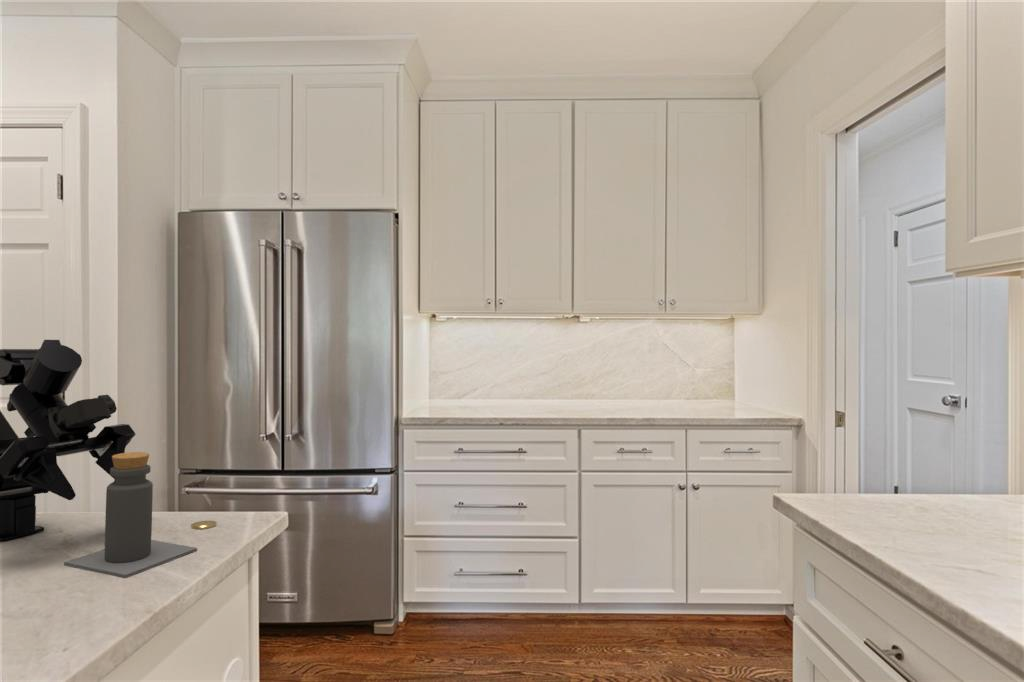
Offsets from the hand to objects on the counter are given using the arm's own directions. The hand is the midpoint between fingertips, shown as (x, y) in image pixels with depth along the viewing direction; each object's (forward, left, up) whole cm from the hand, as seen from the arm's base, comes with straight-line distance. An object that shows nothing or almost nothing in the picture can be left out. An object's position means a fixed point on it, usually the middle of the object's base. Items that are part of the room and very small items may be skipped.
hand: (101, 490), depth 94 cm
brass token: (+3, +16, -9) cm, 19 cm away
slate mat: (+6, 0, -9) cm, 11 cm away
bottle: (+6, 0, -9) cm, 11 cm away
